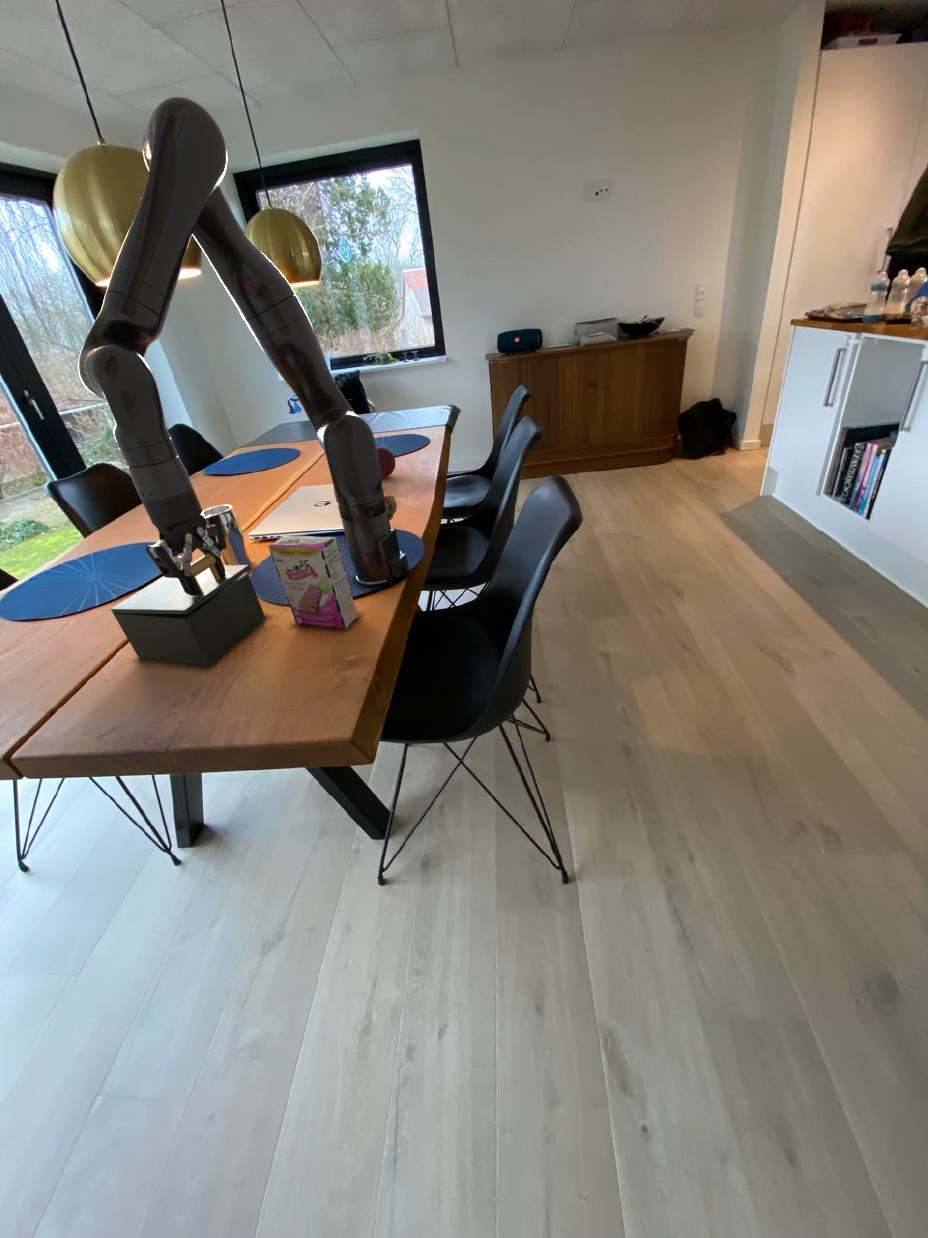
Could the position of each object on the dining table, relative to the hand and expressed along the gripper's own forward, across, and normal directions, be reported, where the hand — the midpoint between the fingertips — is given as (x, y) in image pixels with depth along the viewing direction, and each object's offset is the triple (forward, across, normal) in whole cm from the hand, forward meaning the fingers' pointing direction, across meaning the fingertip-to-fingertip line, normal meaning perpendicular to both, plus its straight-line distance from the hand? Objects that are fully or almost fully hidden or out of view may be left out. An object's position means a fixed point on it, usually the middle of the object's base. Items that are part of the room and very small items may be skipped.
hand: (207, 585), depth 88 cm
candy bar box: (+12, +8, -15) cm, 21 cm away
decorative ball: (+12, +94, +15) cm, 96 cm away
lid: (+1, 0, +6) cm, 6 cm away
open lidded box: (+12, 0, +6) cm, 13 cm away
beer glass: (+12, +26, +20) cm, 35 cm away
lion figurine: (+12, +48, -5) cm, 50 cm away
